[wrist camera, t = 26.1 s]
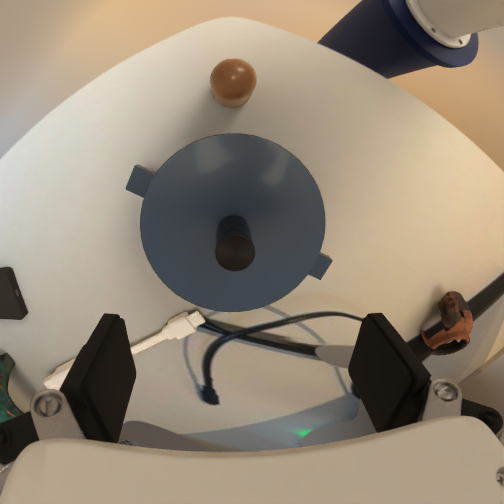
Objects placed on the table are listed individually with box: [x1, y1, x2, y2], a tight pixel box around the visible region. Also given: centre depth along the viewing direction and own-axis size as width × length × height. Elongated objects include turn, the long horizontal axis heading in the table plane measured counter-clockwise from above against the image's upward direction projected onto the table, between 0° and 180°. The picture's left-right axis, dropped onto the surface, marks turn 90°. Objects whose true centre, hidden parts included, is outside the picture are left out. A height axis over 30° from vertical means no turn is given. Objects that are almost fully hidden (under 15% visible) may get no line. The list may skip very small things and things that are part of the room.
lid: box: [140, 134, 325, 312], centre depth 23 cm, size 17×17×7 cm
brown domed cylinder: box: [210, 58, 256, 108], centre depth 23 cm, size 4×4×7 cm
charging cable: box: [43, 311, 205, 390], centre depth 36 cm, size 5×32×3 cm, turn 119°
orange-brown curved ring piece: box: [421, 292, 473, 355], centre depth 37 cm, size 12×10×8 cm
